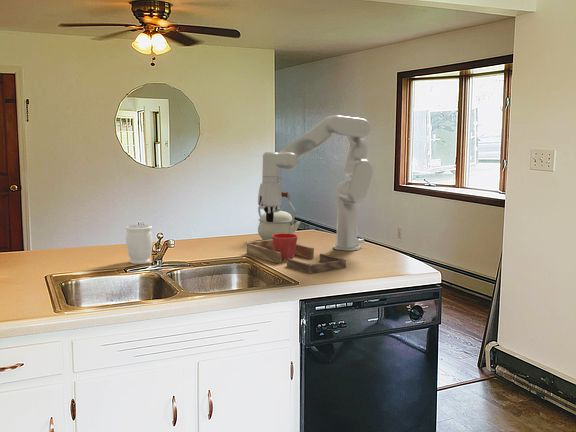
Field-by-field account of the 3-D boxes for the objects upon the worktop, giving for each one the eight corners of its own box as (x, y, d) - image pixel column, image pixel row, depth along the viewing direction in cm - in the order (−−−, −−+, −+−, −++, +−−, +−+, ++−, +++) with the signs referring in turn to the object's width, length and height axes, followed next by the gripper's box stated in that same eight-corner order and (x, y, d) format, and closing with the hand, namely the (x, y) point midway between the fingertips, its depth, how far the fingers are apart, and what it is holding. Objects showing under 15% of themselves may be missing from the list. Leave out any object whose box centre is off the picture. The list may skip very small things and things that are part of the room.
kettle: (247, 241, 293) (247, 191, 289) (269, 236, 308) (269, 188, 304) (289, 247, 279) (289, 194, 275) (310, 241, 294) (310, 191, 290)
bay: (321, 260, 250) (321, 253, 250) (346, 267, 238) (346, 260, 238) (286, 266, 239) (286, 258, 239) (310, 273, 227) (310, 265, 227)
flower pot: (294, 260, 250) (295, 238, 248) (269, 259, 252) (269, 236, 251) (299, 255, 260) (299, 233, 259) (275, 254, 262) (275, 232, 261)
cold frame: (279, 249, 274) (279, 238, 274) (313, 258, 255) (313, 246, 254) (246, 253, 263) (246, 242, 263) (279, 263, 244) (279, 251, 243)
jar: (157, 260, 247) (157, 225, 245) (144, 265, 238) (143, 229, 235) (135, 258, 251) (134, 223, 249) (121, 263, 241) (120, 227, 239)
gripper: (279, 179, 267) (278, 219, 270) (251, 180, 258) (250, 221, 261) (289, 180, 261) (288, 221, 264) (261, 181, 252) (260, 224, 255)
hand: (269, 221), depth 262 cm, fingers closed
